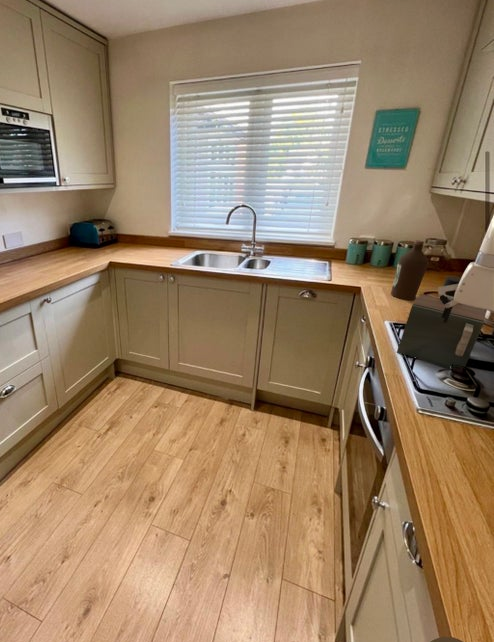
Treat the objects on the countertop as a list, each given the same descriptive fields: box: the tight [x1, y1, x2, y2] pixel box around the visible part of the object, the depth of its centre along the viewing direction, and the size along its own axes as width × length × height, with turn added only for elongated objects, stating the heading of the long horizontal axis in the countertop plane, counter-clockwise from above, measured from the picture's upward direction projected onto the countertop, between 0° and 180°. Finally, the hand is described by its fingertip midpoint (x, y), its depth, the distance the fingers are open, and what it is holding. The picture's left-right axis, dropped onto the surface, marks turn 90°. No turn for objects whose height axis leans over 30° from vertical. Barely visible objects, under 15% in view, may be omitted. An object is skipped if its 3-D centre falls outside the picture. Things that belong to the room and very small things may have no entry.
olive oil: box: [390, 239, 429, 301], centre depth 143 cm, size 11×11×25 cm
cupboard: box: [412, 293, 487, 323], centre depth 98 cm, size 12×16×16 cm
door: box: [396, 304, 485, 370], centre depth 91 cm, size 7×16×16 cm, turn 48°
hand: (468, 327), depth 83 cm, fingers open, 9 cm apart
